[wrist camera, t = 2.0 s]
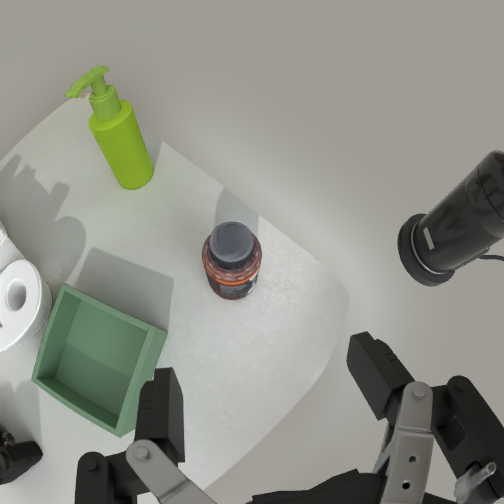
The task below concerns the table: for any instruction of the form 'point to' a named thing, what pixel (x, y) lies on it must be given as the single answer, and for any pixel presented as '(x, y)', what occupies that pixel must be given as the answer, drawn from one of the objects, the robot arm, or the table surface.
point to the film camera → (16, 457)
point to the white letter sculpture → (20, 296)
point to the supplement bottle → (232, 260)
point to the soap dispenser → (115, 130)
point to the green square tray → (97, 359)
